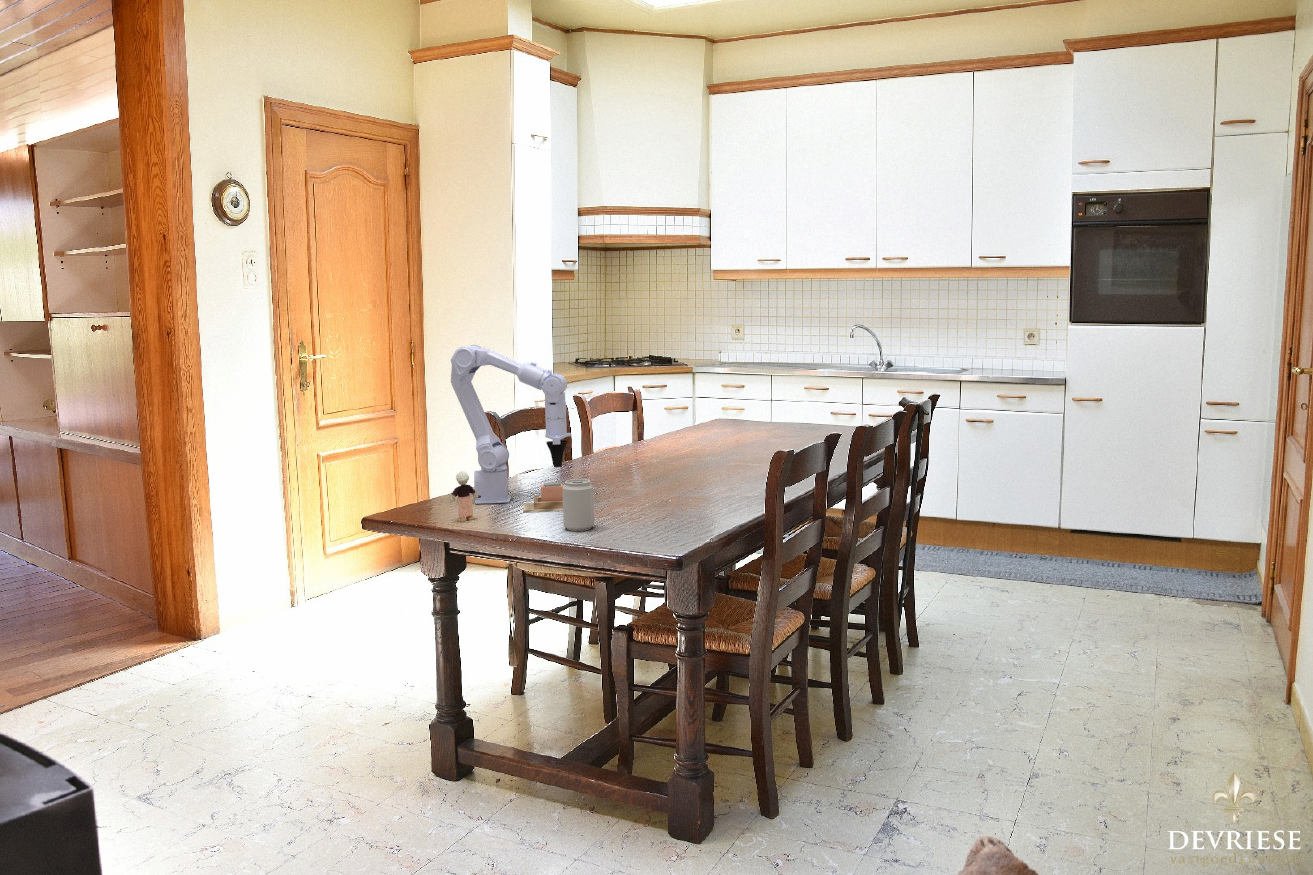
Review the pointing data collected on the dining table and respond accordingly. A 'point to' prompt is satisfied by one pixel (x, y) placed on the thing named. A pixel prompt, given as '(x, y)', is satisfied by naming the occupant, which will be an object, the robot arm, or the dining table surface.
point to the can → (578, 505)
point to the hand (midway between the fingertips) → (557, 466)
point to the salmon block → (551, 492)
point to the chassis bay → (543, 506)
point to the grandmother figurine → (464, 497)
